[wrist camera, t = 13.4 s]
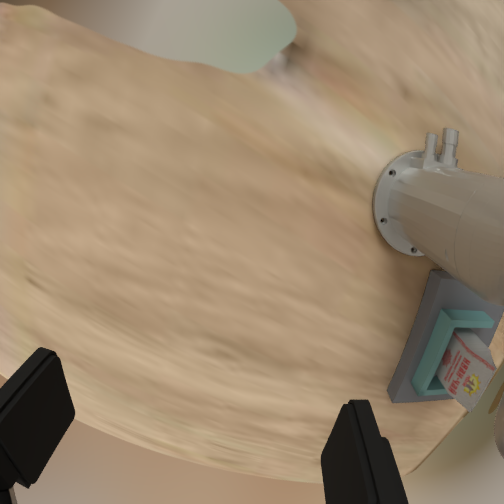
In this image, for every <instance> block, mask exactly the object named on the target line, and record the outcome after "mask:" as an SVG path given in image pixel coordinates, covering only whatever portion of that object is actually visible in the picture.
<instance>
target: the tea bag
mask: <svg viewBox="0 0 504 504" xmlns="http://www.w3.org/2000/svg"><path fill="white" fill-rule="evenodd" d="M496 369H497V368H496V366H495V364H494V362H493V359H492V355H491V352H490V349H489V348H488V347H487V346H486V345H485V344H484V343H483V342H482V341H481V340H480V338H479V337H478V336H477V335H476V334H475V333H474V332H473V331H472V330H471V329H470V328H460V327H455V328H454V331H453V333H452V336H451V338H450V340H449V343H448V345H447V348H446V350H445V352H444V354H443V357H442V359H441V361H440V363H439V365H438V367H437V370H436V372H435V373H436V375H437V376H438V378H439V380H440V381H441V383H442V384H443V386H444V388H445V389H446V391H447V393H448V394H449V395H451V396H452V397H453V398H454V399H456V400H457V401H458V402H459V403H460V404H462V405H463V406H464V407H465V408H466V409H467V410H468V411H469V412H470V411H471V412H472V410H473V409H474V407H475V405H476V404H477V402H478V401H479V399H480V397H481V396H482V394H483V392H484V391H485V389H486V387H487V385H488V384H489V382H490V380H491V378H492V377H493V375H494V373H495V371H496Z"/></svg>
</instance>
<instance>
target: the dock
mask: <svg viewBox="0 0 504 504" xmlns="http://www.w3.org/2000/svg"><path fill="white" fill-rule="evenodd" d="M503 312H504V306H499V305H494V304H490V303H488V302H486V301H484V300H482V299H481V298H479V297H478V296H477V295H475V294H474V293H473V292H472V291H470V290H469V289H468V288H466V287H465V286H464V285H463V284H461V283H460V282H459V281H458V280H457V279H455V278H454V277H453V276H452V275H450V274H449V273H448V272H446V271H438V270H431V272H430V275H429V279H428V282H427V285H426V289H425V292H424V295H423V298H422V301H421V304H420V307H419V310H418V313H417V316H416V319H415V322H414V325H413V328H412V330H411V333H410V336H409V338H408V341H407V344H406V346H405V349H404V351H403V354H402V356H401V359H400V361H399V364H398V366H397V368H396V371H395V373H394V375H393V378H392V380H391V382H390V385H389V387H388V389H387V392H388V394H389V397H390V399H391V401H392V403H406V402H422V401H435V400H446V399H454V398H453V397H452V396H451V395H449V394H448V393H447V391H446V389H445V388H444V386H443V384H442V383H441V381H440V380H439V378H438V376H437V375H436V373H435V372H436V370H437V367H438V365H439V363H440V361H441V359H442V357H443V354H444V352H445V350H446V348H447V345H448V343H449V340H450V338H451V336H452V333H453V331H454V328H455V327H460V328H470V329H471V330H472V331H473V332H474V333H475V334H476V335H477V336H478V337H479V338H480V340H481V341H482V342H483V343H484V344H485V345H486V346H487V347H489V345H490V343H491V341H492V338H493V336H494V334H495V331H496V329H497V327H498V324H499V322H500V319H501V317H502V314H503Z"/></svg>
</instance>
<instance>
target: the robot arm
mask: <svg viewBox="0 0 504 504" xmlns="http://www.w3.org/2000/svg"><path fill="white" fill-rule="evenodd" d="M458 136H459V131H457V130H454V129H450V128H443V136H442V151H441V155H439V154H436V153H435V152H436V147H437V140H438V135H436V134H432V133H426V140H425V144H426V145H425V151H423V150H414V151H410V152H405V153H403V154H401V155H399V156H397V157H396V158H395V159H393V160H392V161H391V162H390V163H389V164H388V165H387V166H386V167H385V168H384V170H383V171H382V173H381V175H380V176H379V178H378V181H377V183H376V186H375V189H374V195H373V214H374V219H375V222H376V225H377V228H378V230H379V232H380V233H381V235H382V237H383V238H384V239H385V240H386V241H387V243H388V244H389V245H391V246H392V247H393V248H394V249H396V250H398V251H399V252H401V253H403V254H406V255H409V256H427V257H428V258H430V259H431V260H432V261H434V262H435V263H436V264H438V265H439V266H440V267H441V268H443V269H444V270H445V271H446V272H448V273H449V274H450V275H452V276H453V277H454V278H455V279H457V280H458V281H459V282H460V283H461V284H463V285H464V286H465V287H466V288H468V289H469V290H470V291H472V292H473V293H474V294H475V295H477V296H478V297H479V298H481V299H482V300H484V301H486V302H488V303H490V304H494V305H499V306H504V178H501V177H497V176H492V175H487V174H482V173H476V172H471V171H466V170H463V169H460V168H457V163H458V159H456V158H455V156H456V148H457V145H458ZM389 171H391V175H389ZM382 218H383V221H382V222H380V220H381V219H382ZM412 247H413V248H412ZM411 248H412V249H411ZM74 417H75V409H74V406H73V403H72V400H71V396H70V393H69V390H68V386H67V383H66V379H65V376H64V372H63V368H62V365H61V361H60V358H59V357H57V354H56V352H54V351H52V350H49V349H46V348H43V347H40V348H38V349H37V350H36V351H35V352H34V353H33V354H32V355H31V356H30V357H29V358H28V359H27V360H26V361H25V362H24V363H23V365H22V366H21V367H20V368H19V369H18V370H17V371H16V372H15V373H14V374H13V375H12V376H11V377H10V378H9V380H8V381H7V382H6V383H5V384H4V385H3V386H2V387H1V388H0V504H17V500H16V496H15V492H14V488H13V485H14V484H15V482H17V483H19V484H21V485H23V486H24V487H26V488H29V487H30V485H31V484H34V483H35V482H36V481H37V480H38V478H39V476H40V474H41V473H42V471H43V469H44V467H45V466H46V464H47V462H48V460H49V459H50V457H51V456H52V454H53V452H54V450H55V449H56V447H57V445H58V444H59V442H60V440H61V439H62V437H63V435H64V434H65V432H66V431H67V429H68V427H69V426H70V424H71V422H72V421H73V419H74ZM494 436H495V442H496V445H497V448H498V450H499V452H500V454H501V456H502V457H503V458H504V392H503V395H502V397H501V400H500V403H499V406H498V409H497V413H496V416H495V423H494ZM321 467H322V475H323V484H324V492H325V500H326V504H408V500H407V497H406V493H405V490H404V487H403V484H402V480H401V477H400V474H399V471H398V468H397V465H396V461H395V458H394V455H393V452H392V449H391V446H390V443H389V441H388V439H386V438H385V437H381V435H380V432H379V429H378V426H377V423H376V420H375V417H374V414H373V411H372V408H371V405H370V402H369V401H368V400H350V401H349V402H348V404H343V406H342V408H341V410H340V413H339V415H338V418H337V420H336V422H335V425H334V427H333V429H332V432H331V434H330V436H329V438H328V441H327V443H326V445H325V447H324V449H323V451H322V454H321Z"/></svg>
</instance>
